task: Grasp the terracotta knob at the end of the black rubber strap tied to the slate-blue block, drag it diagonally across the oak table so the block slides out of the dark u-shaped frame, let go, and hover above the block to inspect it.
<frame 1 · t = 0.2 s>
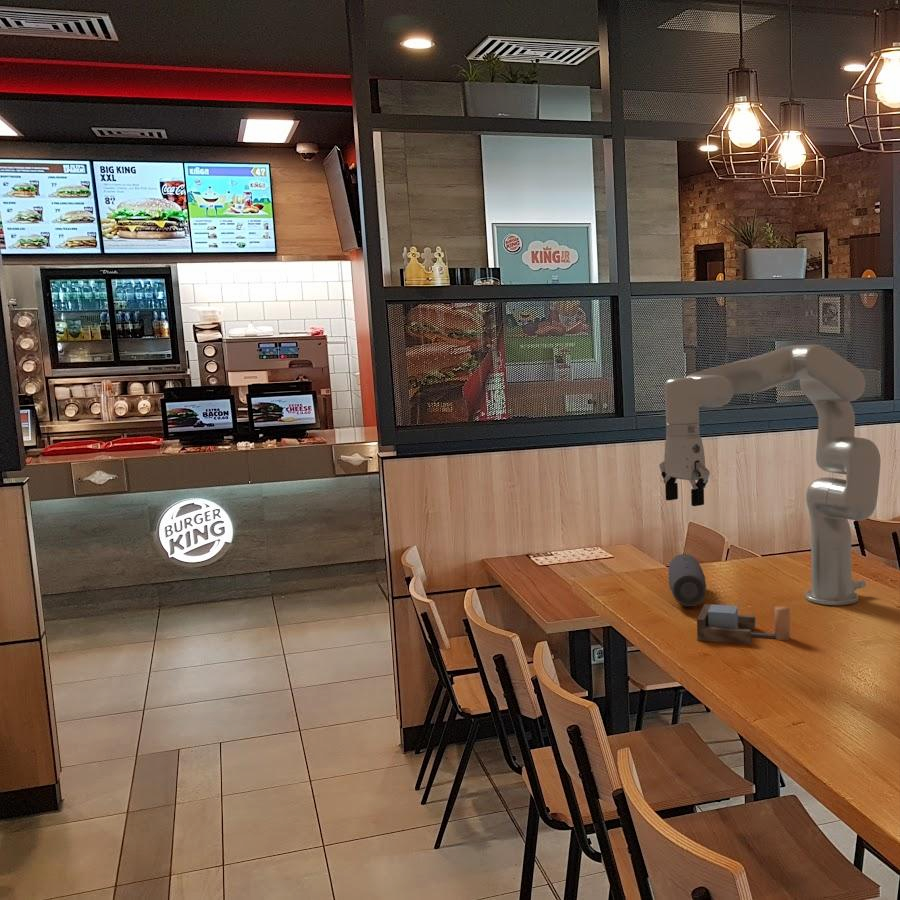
hand: (684, 502, 210), 31 cm above the table, tool pointing down, fingers open, 9 cm apart
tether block: (723, 633, 208), on the table
dark u-shaped frame: (730, 634, 207), on the table
bluetooth speaker: (687, 599, 238), on the table
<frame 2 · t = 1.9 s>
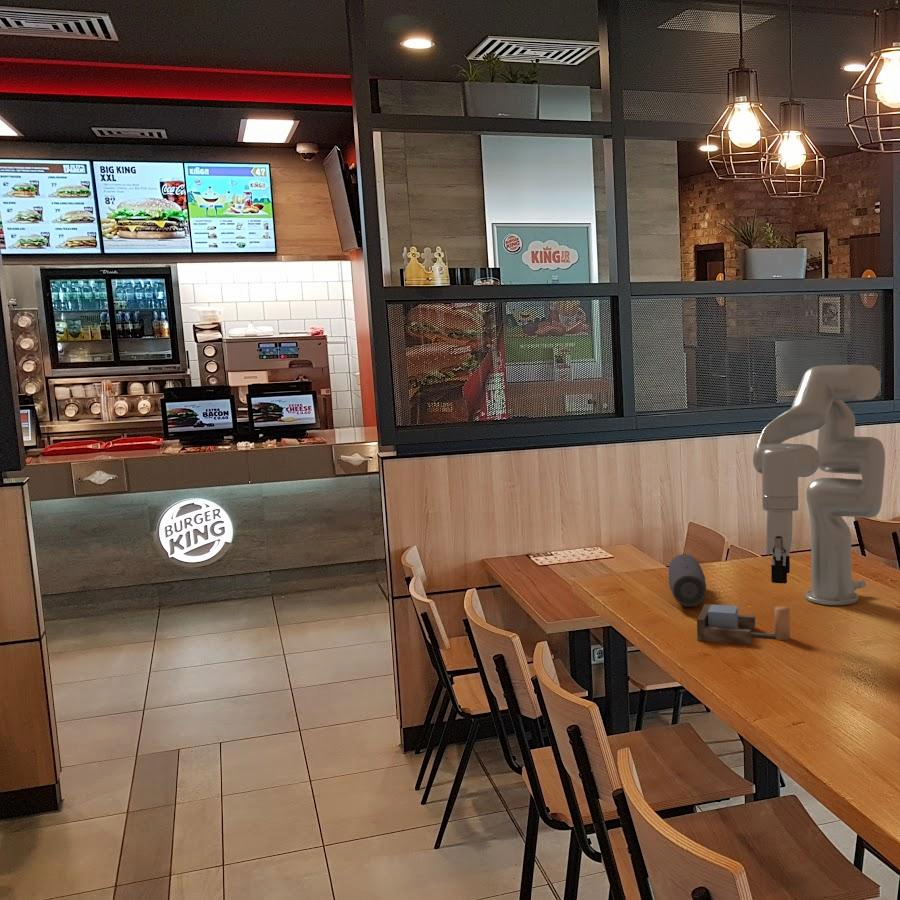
hand: (780, 577, 201), 14 cm above the table, tool pointing down, fingers open, 9 cm apart
nothing on the table moved.
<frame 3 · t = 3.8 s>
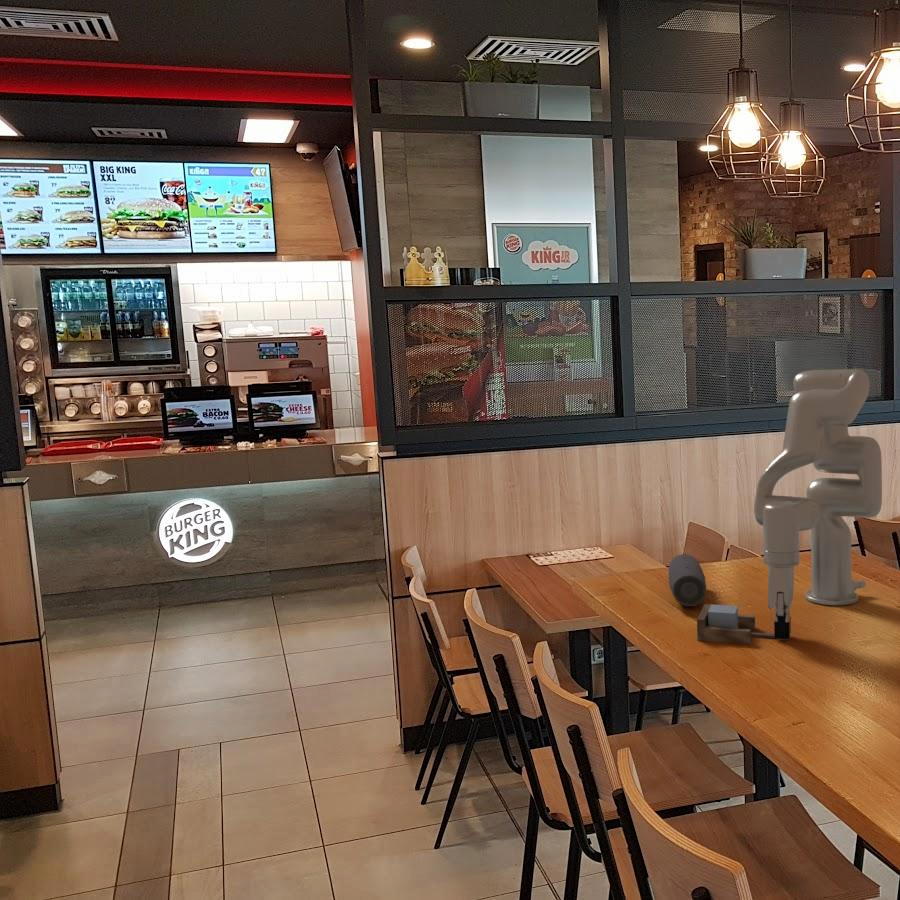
hand: (782, 635, 203), 1 cm above the table, tool pointing down, fingers closed on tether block, 3 cm apart
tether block: (723, 633, 208), on the table, touching gripper
everything else where it was.
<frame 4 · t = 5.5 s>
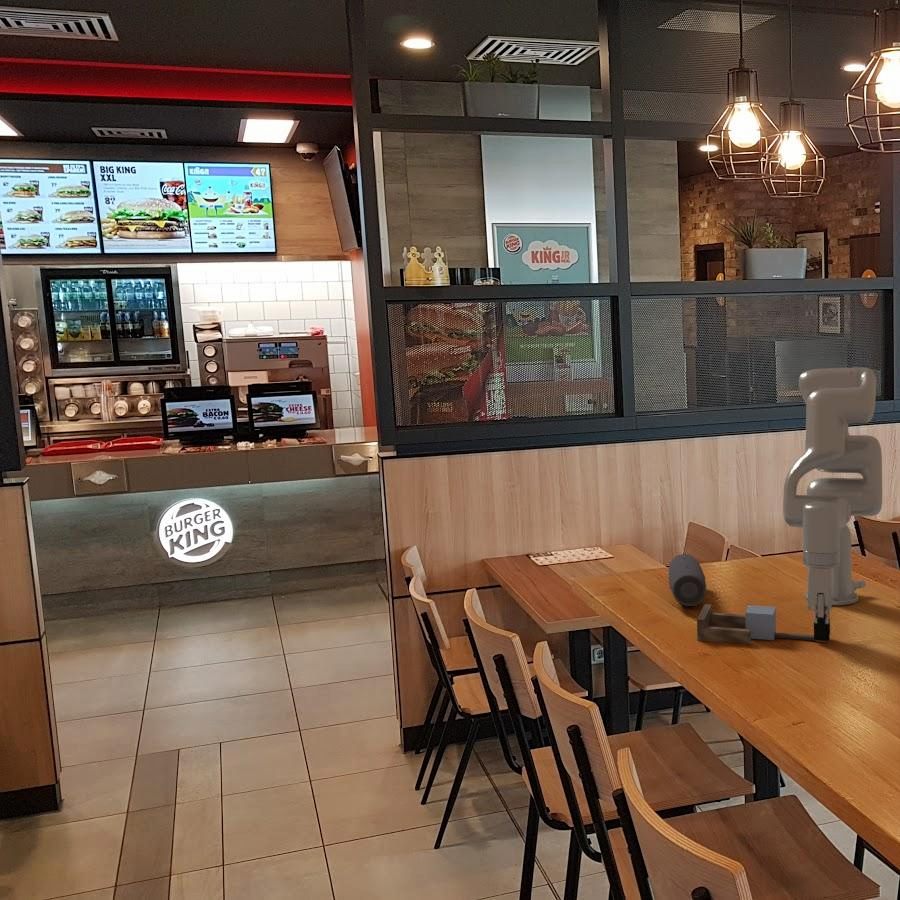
hand: (822, 636, 199), 1 cm above the table, tool pointing down, fingers closed on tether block, 3 cm apart
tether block: (761, 634, 205), on the table, touching gripper
everything else where it was.
when the fingers open (1 cm above the table, at t = 7.1 s): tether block stays where it is, on the table.
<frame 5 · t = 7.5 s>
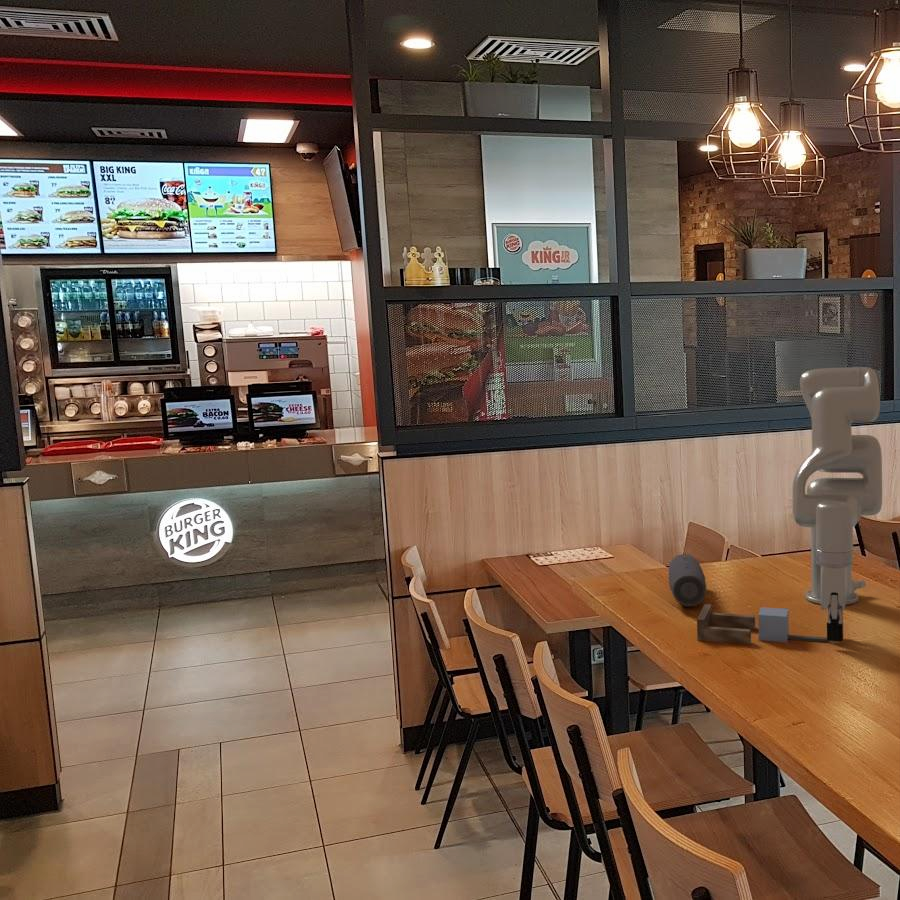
hand: (835, 634, 198), 2 cm above the table, tool pointing down, fingers open, 7 cm apart
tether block: (773, 637, 204), on the table
everything else where it was.
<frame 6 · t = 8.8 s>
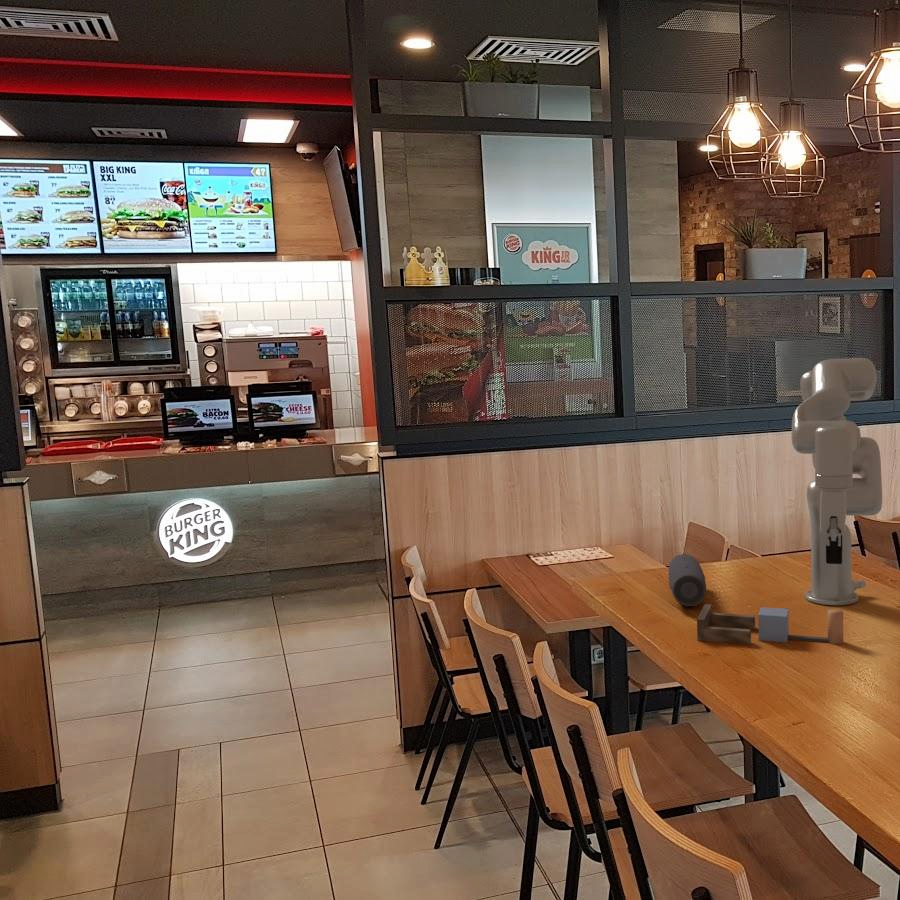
hand: (834, 557, 196), 19 cm above the table, tool pointing down, fingers open, 9 cm apart
nothing on the table moved.
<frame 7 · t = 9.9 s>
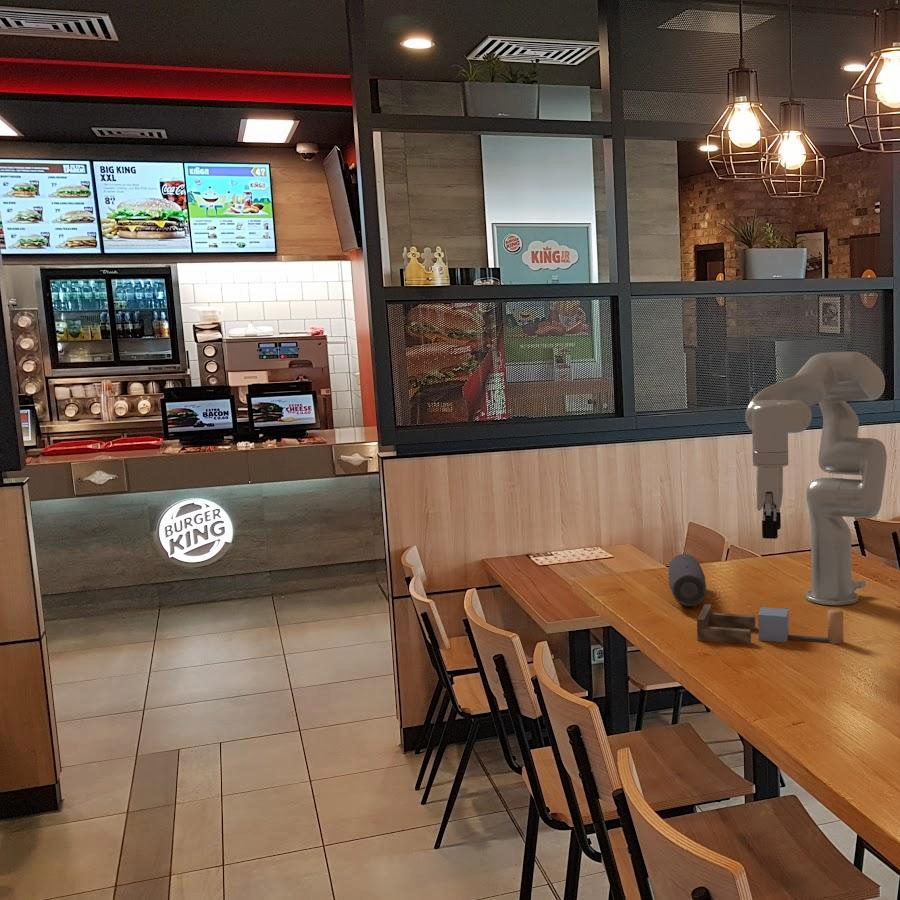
hand: (771, 533, 201), 24 cm above the table, tool pointing down, fingers open, 9 cm apart
nothing on the table moved.
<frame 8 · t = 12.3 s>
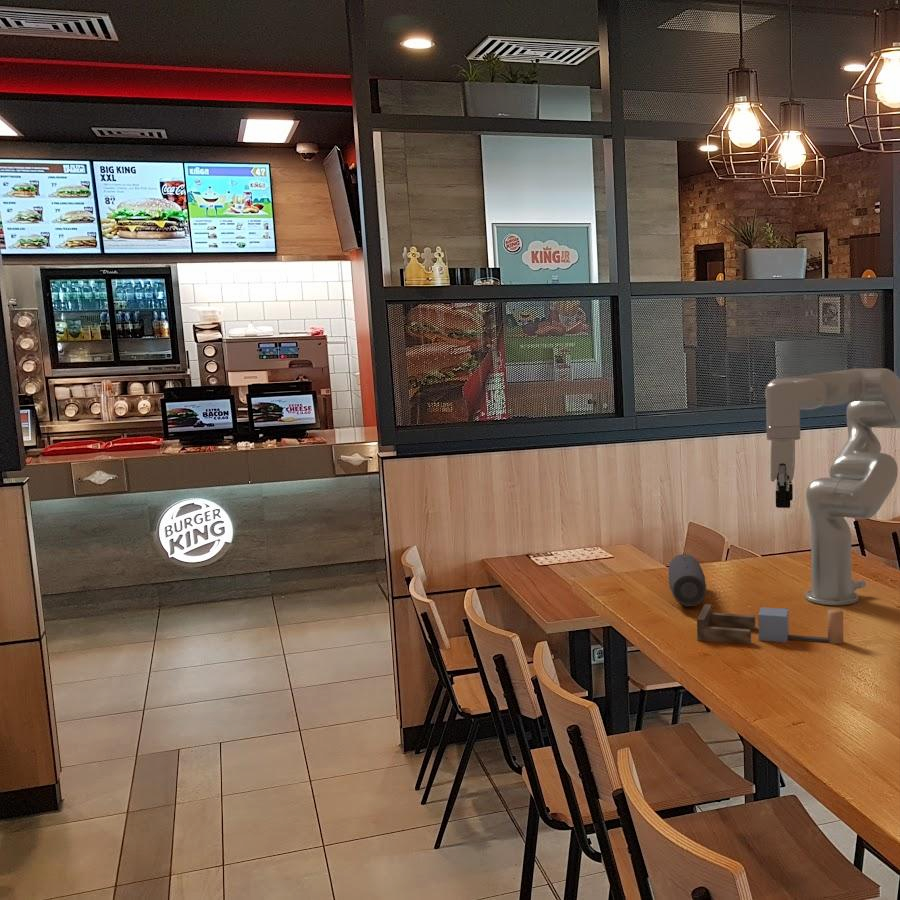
hand: (784, 503, 214), 28 cm above the table, tool pointing down, fingers open, 9 cm apart
nothing on the table moved.
at the end: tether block inside the target area (4.3 cm from its centre), on the table; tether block moved 11.1 cm from its start; the gripper is holding nothing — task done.
